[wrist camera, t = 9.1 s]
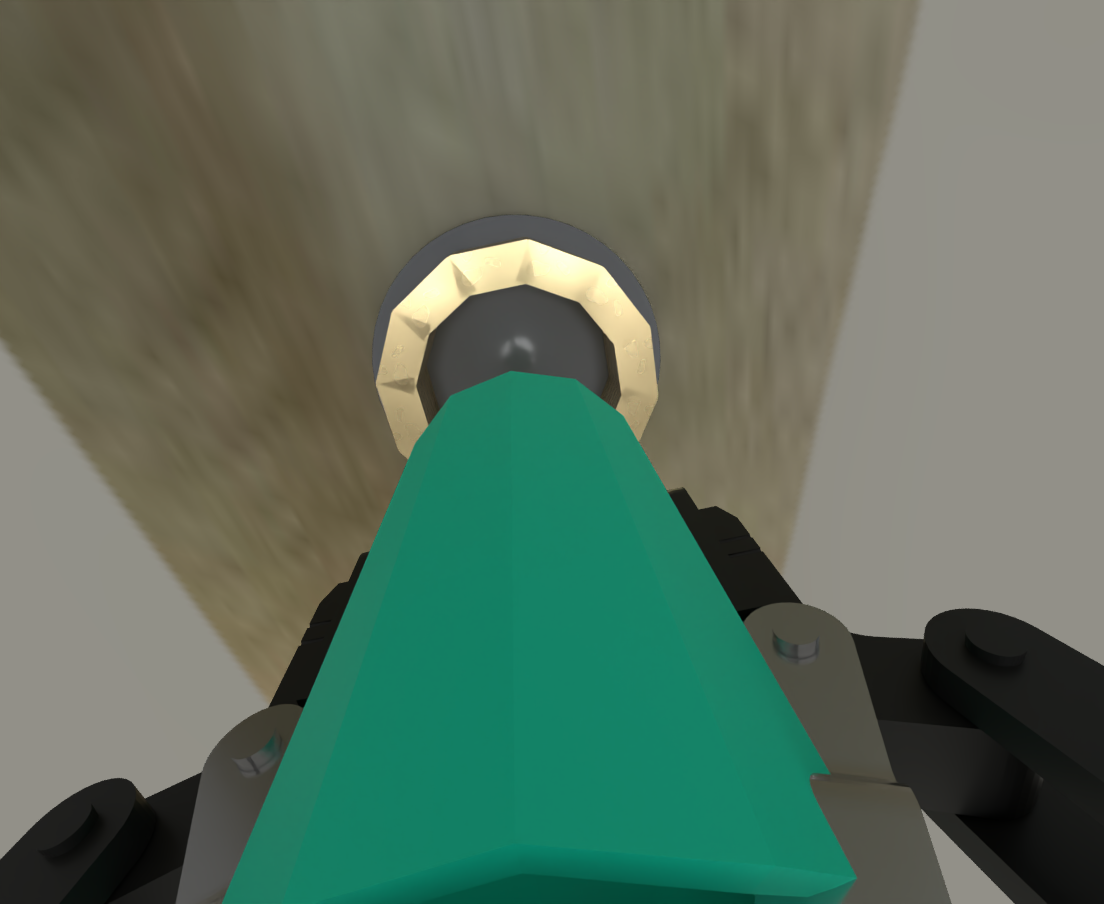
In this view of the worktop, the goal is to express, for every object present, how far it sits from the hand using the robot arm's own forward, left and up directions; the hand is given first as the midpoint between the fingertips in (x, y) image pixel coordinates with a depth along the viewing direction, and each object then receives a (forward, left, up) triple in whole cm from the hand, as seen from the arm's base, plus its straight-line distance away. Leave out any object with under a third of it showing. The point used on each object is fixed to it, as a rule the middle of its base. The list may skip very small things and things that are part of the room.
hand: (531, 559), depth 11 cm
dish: (0, 0, -16) cm, 16 cm away
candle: (0, 0, -4) cm, 4 cm away
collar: (0, 0, -16) cm, 16 cm away
